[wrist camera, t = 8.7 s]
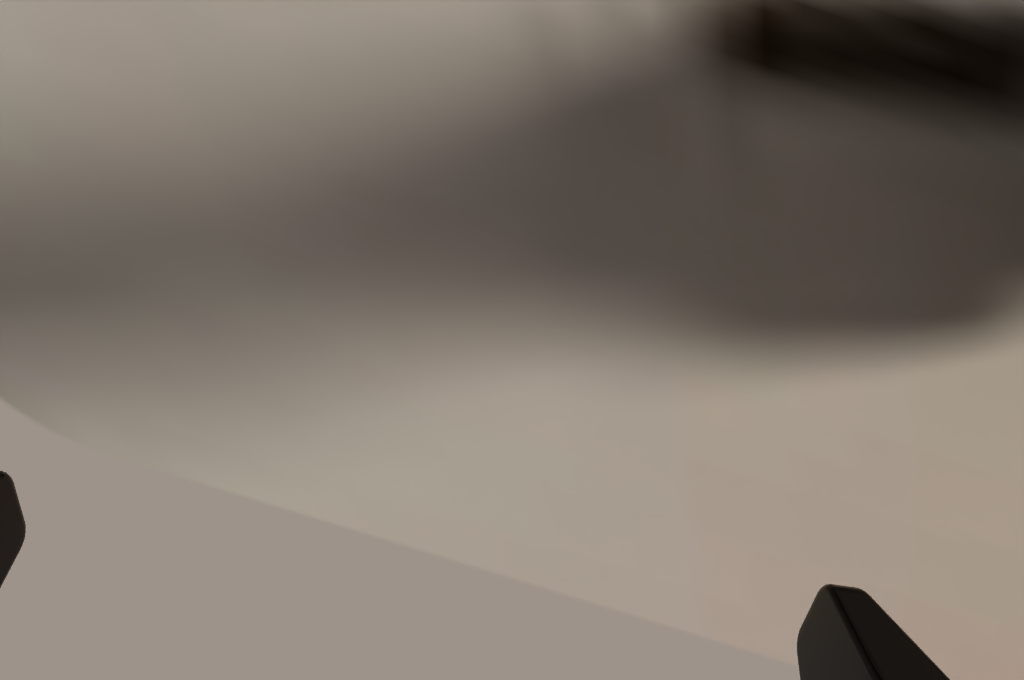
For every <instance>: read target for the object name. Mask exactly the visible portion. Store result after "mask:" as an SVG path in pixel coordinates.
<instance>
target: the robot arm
mask: <svg viewBox="0 0 1024 680" xmlns="http://www.w3.org/2000/svg"><path fill="white" fill-rule="evenodd" d="M24 538H25V521H24V517H23V514H22V510H21V507H20V504H19V500H18V497H17V493H16V489H15V486H14V482H13V480H12V478H11V477H10V476H9V475H8V474H7V473H5V472H3V471H0V587H1V585H2V583H3V582H4V580H5V578H6V576H7V574H8V572H9V570H10V568H11V566H12V564H13V562H14V560H15V559H16V556H17V555H18V553H19V551H20V549H21V547H22V544H23V541H24ZM797 655H798V663H799V671H800V679H801V680H950V679H949V678H948V677H947V676H946V675H945V674H944V673H943V672H942V671H941V670H940V669H939V668H938V667H937V665H936V664H935V663H934V662H933V661H932V660H931V659H930V658H929V657H928V656H927V655H926V654H925V653H924V652H923V651H922V650H921V649H920V648H919V647H918V646H917V645H916V644H915V642H914V641H913V640H912V639H911V638H910V637H909V636H908V635H907V634H906V633H905V632H904V631H903V630H902V629H901V628H900V627H899V626H898V625H897V624H896V623H895V622H894V620H893V619H892V618H891V617H890V616H889V615H888V614H887V613H886V612H885V611H884V610H883V609H882V608H881V607H880V606H879V605H878V604H877V603H876V602H875V601H874V600H873V599H872V597H871V596H870V595H868V594H867V593H866V592H865V591H863V590H862V589H859V588H855V587H848V586H841V585H833V584H827V585H825V586H823V587H822V588H821V589H820V590H819V592H818V593H817V595H816V597H815V599H814V601H813V604H812V606H811V608H810V610H809V612H808V614H807V616H806V618H805V620H804V622H803V624H802V626H801V628H800V631H799V634H798V640H797Z"/></svg>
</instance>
